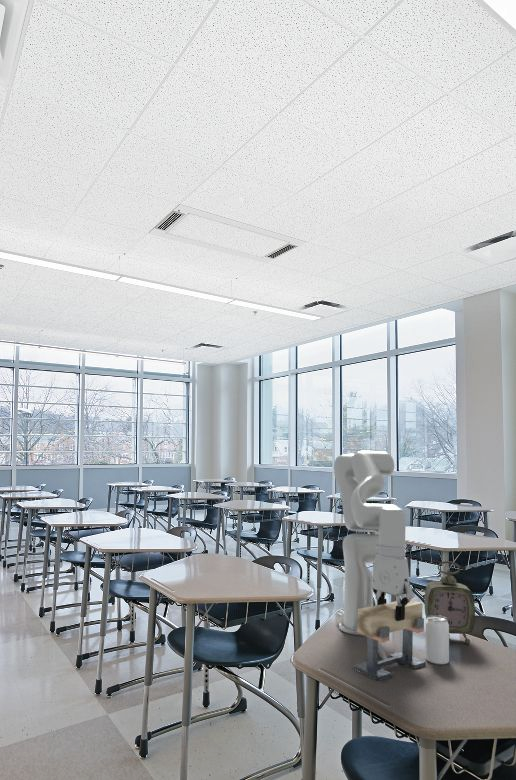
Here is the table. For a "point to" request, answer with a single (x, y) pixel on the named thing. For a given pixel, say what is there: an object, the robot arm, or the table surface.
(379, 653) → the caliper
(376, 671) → the grey support stand
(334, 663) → the table surface
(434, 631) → the can
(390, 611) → the rail
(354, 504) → the robot arm
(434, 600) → the tabletop clock
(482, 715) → the table surface
